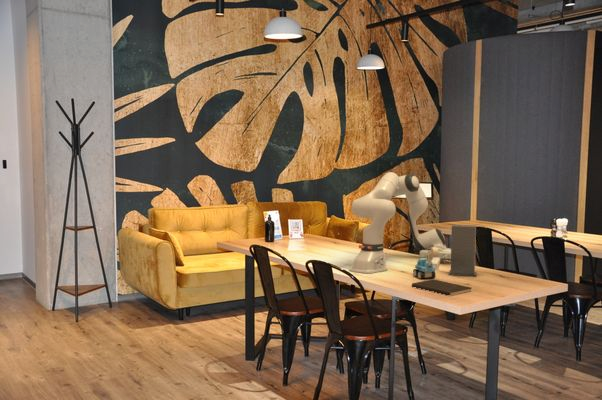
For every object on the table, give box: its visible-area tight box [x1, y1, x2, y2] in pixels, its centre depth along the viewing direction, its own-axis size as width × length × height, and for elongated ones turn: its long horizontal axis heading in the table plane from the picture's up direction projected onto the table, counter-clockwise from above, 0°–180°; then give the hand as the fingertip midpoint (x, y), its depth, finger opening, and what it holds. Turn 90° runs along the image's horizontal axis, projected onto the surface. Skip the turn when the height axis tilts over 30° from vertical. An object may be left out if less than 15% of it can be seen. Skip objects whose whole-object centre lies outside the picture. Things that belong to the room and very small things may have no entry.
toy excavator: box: [412, 246, 439, 280], centre depth 310 cm, size 9×17×17 cm, turn 16°
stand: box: [447, 224, 478, 278], centre depth 321 cm, size 10×14×26 cm
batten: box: [431, 258, 441, 271], centre depth 342 cm, size 20×4×4 cm, turn 163°
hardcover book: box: [411, 278, 473, 296], centre depth 287 cm, size 16×23×2 cm
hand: (436, 256), depth 347 cm, fingers open, 8 cm apart
